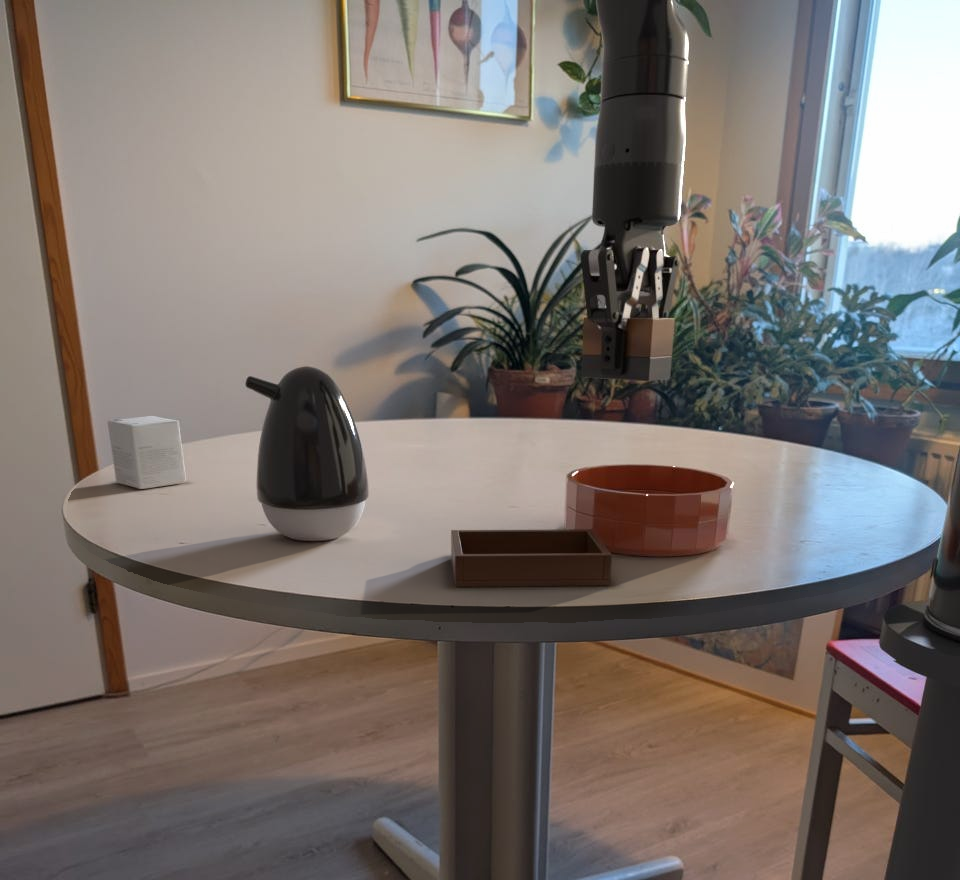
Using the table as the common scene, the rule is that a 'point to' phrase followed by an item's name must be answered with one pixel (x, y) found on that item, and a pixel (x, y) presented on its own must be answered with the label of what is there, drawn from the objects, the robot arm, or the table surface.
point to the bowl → (650, 508)
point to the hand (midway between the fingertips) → (626, 372)
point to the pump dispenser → (309, 457)
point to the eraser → (633, 350)
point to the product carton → (147, 451)
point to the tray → (529, 558)
